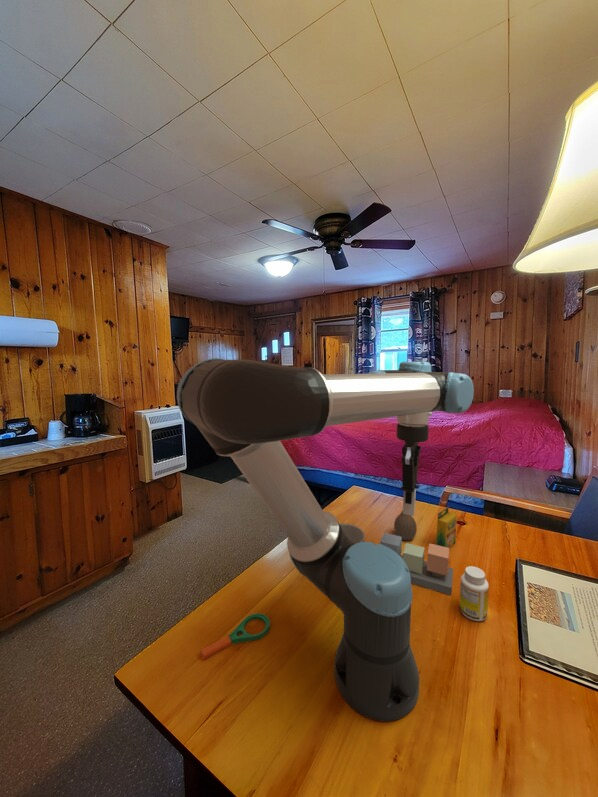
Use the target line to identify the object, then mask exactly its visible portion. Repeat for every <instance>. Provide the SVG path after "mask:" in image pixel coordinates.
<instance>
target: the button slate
mask: <svg viewBox="0 0 598 797" xmlns="http://www.w3.org/2000/svg"><path fill="white" fill-rule="evenodd" d="M379 542H380V543H379V544H382V545H384V546H386V547H388V548H390V549H392V550H393V551H395V552H396V553H397V554H398V555H399V556H400V555H402V543H403V540H402V537H400V536H397V535H396V534H391V533H386V532H384V533H383V535H382V537H381V540H380V541H379Z"/></svg>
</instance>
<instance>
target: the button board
mask: <svg viewBox="0 0 598 797" xmlns="http://www.w3.org/2000/svg"><path fill="white" fill-rule="evenodd" d="M400 557H401V558H402V559H403V554H401V555H400ZM409 572H410V576H411V585H415V586H419V587H422V588H424V589H428V590H431V591H436V592H438V593H443V594H446V595H449V596H452V594H453V593H452V592H453V580H454V578H453V577H454V567H453V568H452V567H449V566H448V576H446V575H443V574H439V573H435V572H432V571H428V570H427V560H424V566H423V571H422V574H419V573H415V572H412V571H409Z"/></svg>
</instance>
